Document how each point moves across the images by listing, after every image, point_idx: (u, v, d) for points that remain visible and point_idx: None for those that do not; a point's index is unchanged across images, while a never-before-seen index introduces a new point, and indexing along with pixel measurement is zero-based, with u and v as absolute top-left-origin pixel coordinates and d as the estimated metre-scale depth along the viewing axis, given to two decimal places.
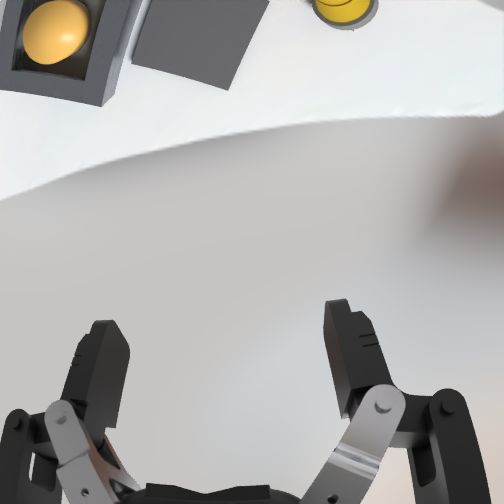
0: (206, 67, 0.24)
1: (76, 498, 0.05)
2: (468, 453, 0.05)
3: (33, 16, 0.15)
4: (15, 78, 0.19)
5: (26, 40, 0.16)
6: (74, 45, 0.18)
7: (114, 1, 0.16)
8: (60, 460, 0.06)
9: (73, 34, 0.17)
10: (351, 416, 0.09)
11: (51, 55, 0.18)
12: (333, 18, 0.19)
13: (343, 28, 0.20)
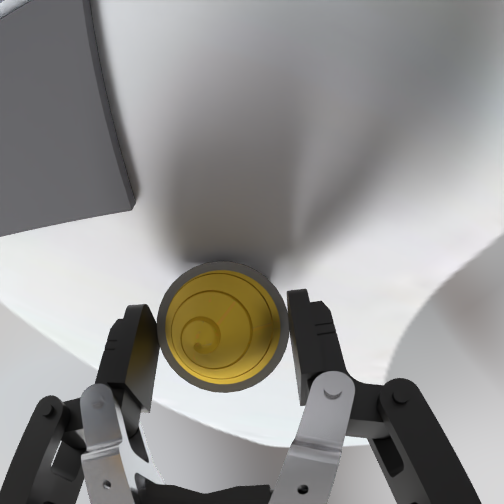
0: None
1: (96, 488, 0.05)
2: (432, 438, 0.06)
3: None
4: None
5: None
6: None
7: None
8: (88, 445, 0.07)
9: None
10: (307, 403, 0.09)
11: None
12: (169, 346, 0.12)
13: None
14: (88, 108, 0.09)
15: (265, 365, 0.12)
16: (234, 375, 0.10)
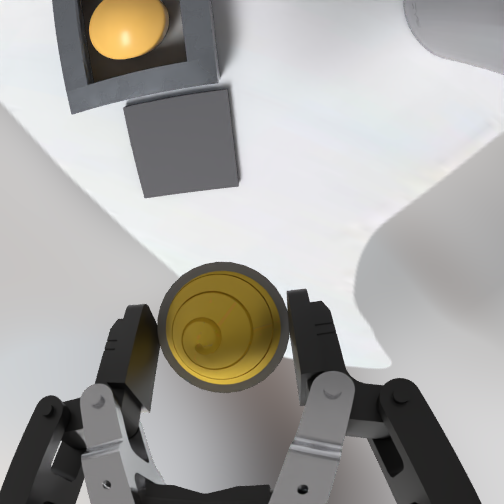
0: (152, 171, 0.28)
1: (96, 488, 0.05)
2: (432, 438, 0.06)
3: None
4: (67, 5, 0.15)
5: (110, 0, 0.15)
6: (118, 58, 0.18)
7: (176, 72, 0.20)
8: (88, 445, 0.07)
9: (129, 51, 0.18)
10: None
11: (100, 39, 0.17)
12: (170, 346, 0.12)
13: None
14: (227, 144, 0.27)
15: (265, 365, 0.12)
16: (235, 375, 0.11)
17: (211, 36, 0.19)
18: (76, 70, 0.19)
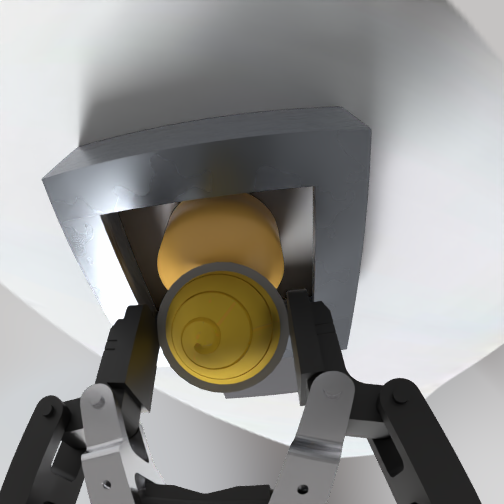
0: None
1: (96, 488, 0.05)
2: (432, 438, 0.06)
3: (244, 228, 0.13)
4: (90, 231, 0.12)
5: (190, 230, 0.13)
6: None
7: None
8: (88, 445, 0.07)
9: None
10: None
11: None
12: (169, 346, 0.12)
13: None
14: None
15: (265, 365, 0.12)
16: (234, 375, 0.11)
17: (352, 304, 0.15)
18: None
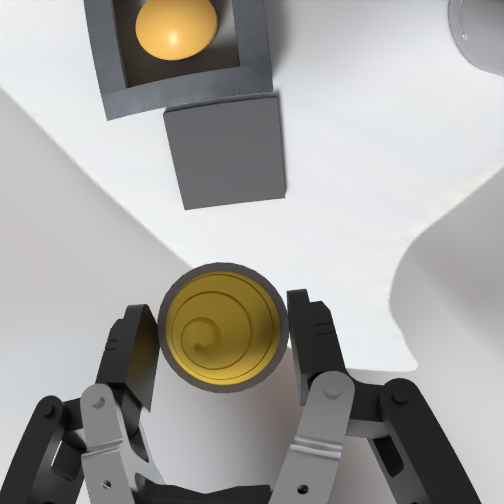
0: (194, 182, 0.27)
1: (96, 488, 0.05)
2: (432, 437, 0.06)
3: None
4: None
5: None
6: (168, 59, 0.19)
7: (228, 78, 0.19)
8: (88, 445, 0.07)
9: (180, 52, 0.19)
10: None
11: (148, 38, 0.18)
12: (169, 347, 0.12)
13: None
14: (275, 154, 0.26)
15: (265, 365, 0.12)
16: (234, 376, 0.11)
17: (266, 41, 0.18)
18: (112, 72, 0.18)
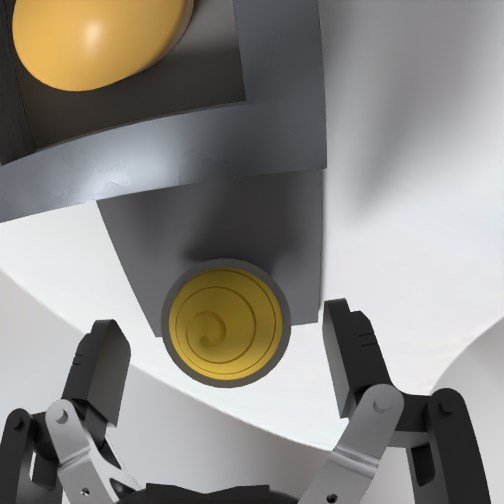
0: None
1: (76, 498, 0.05)
2: (467, 453, 0.05)
3: None
4: None
5: None
6: (76, 88, 0.08)
7: (216, 135, 0.08)
8: (61, 460, 0.06)
9: (100, 70, 0.07)
10: (350, 415, 0.09)
11: (36, 45, 0.06)
12: (173, 342, 0.12)
13: None
14: (309, 264, 0.14)
15: (267, 360, 0.12)
16: (237, 370, 0.11)
17: (317, 37, 0.06)
18: None
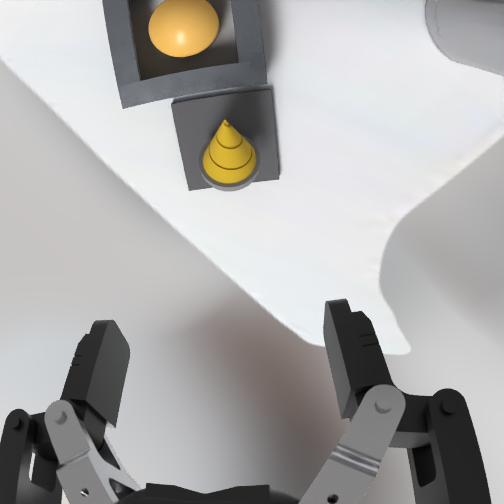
0: (198, 165, 0.30)
1: (76, 498, 0.05)
2: (468, 453, 0.05)
3: (195, 0, 0.19)
4: (118, 3, 0.18)
5: (168, 3, 0.19)
6: (176, 56, 0.22)
7: (229, 72, 0.22)
8: (60, 460, 0.06)
9: (187, 50, 0.22)
10: (351, 416, 0.09)
11: (160, 37, 0.21)
12: (204, 165, 0.27)
13: (203, 176, 0.27)
14: (270, 140, 0.29)
15: (249, 173, 0.27)
16: (234, 166, 0.25)
17: (261, 40, 0.21)
18: (128, 66, 0.21)
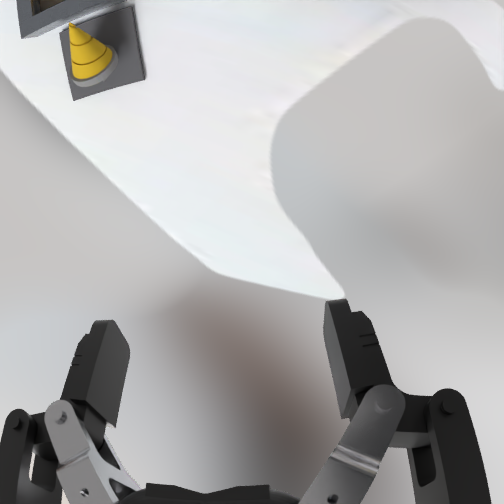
0: None
1: (76, 498, 0.05)
2: (468, 453, 0.05)
3: None
4: None
5: None
6: None
7: None
8: (60, 460, 0.06)
9: None
10: (351, 416, 0.09)
11: None
12: (72, 68, 0.25)
13: None
14: (132, 46, 0.27)
15: (102, 68, 0.25)
16: (86, 60, 0.23)
17: None
18: (26, 8, 0.20)
